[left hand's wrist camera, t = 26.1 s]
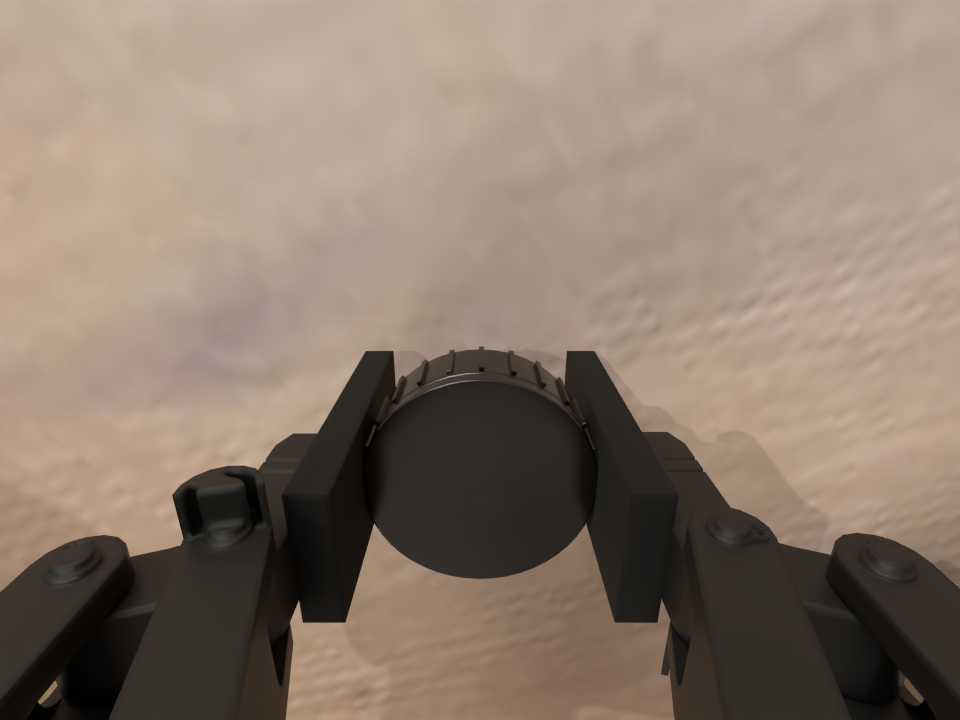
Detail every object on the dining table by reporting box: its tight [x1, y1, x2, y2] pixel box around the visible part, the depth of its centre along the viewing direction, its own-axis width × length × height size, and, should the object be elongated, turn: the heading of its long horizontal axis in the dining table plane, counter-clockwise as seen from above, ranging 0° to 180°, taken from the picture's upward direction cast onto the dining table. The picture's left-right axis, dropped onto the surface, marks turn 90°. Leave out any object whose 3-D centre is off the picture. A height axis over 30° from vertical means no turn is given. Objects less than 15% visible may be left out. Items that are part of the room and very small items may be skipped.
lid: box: [362, 347, 598, 579], centre depth 11 cm, size 5×5×2 cm
